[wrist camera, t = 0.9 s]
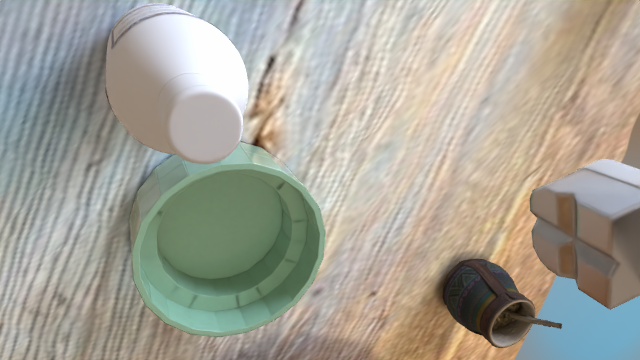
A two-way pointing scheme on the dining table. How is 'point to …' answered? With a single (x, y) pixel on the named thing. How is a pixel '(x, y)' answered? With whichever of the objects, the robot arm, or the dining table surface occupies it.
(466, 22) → the dining table surface
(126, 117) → the bath foam
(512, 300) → the mate gourd
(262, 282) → the green pet bowl
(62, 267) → the dining table surface
